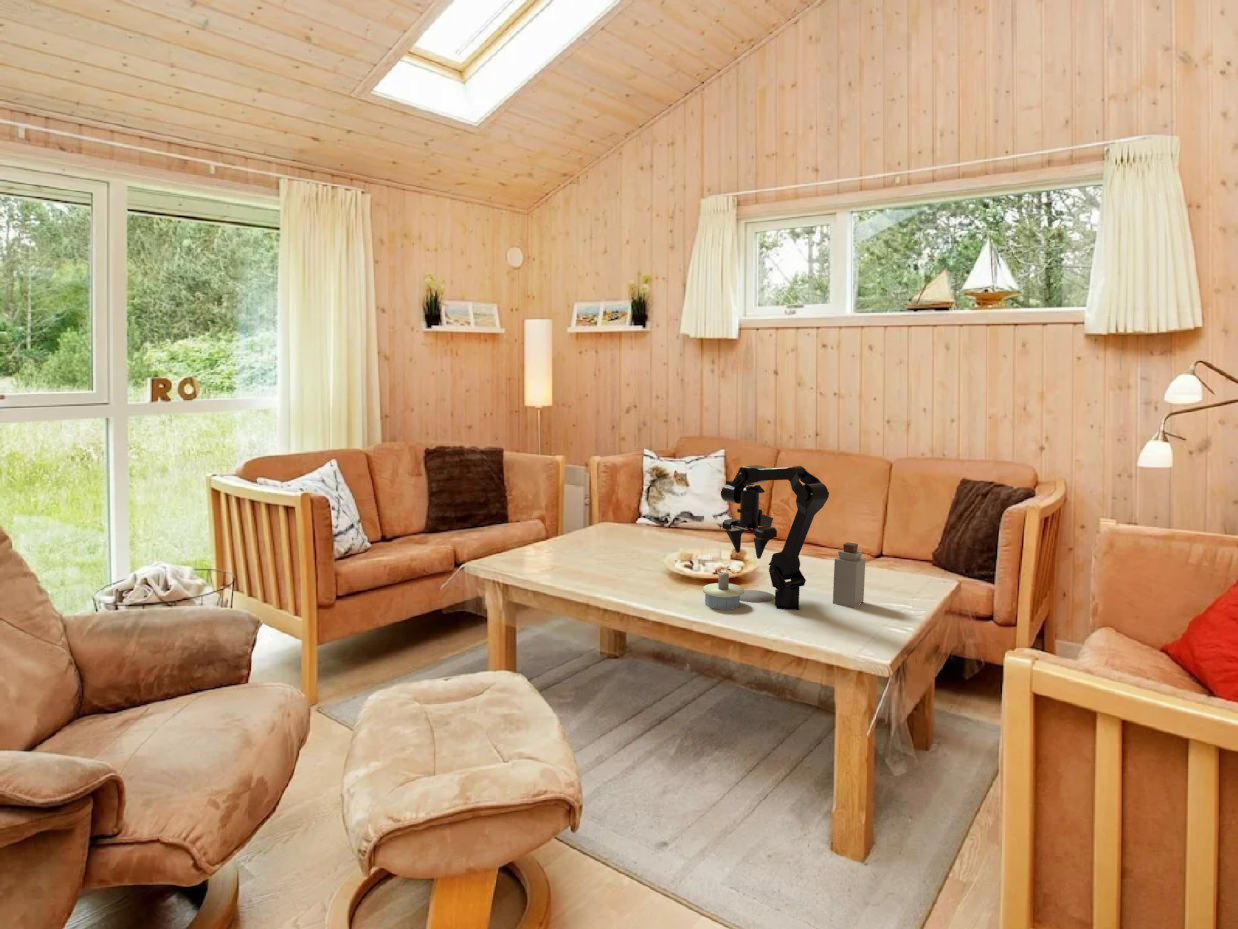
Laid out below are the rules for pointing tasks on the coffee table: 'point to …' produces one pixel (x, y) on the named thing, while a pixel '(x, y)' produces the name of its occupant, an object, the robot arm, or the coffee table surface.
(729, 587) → the lid
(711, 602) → the bowl
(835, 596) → the perfume bottle
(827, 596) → the coffee table surface
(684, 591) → the coffee table surface
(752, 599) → the mat
